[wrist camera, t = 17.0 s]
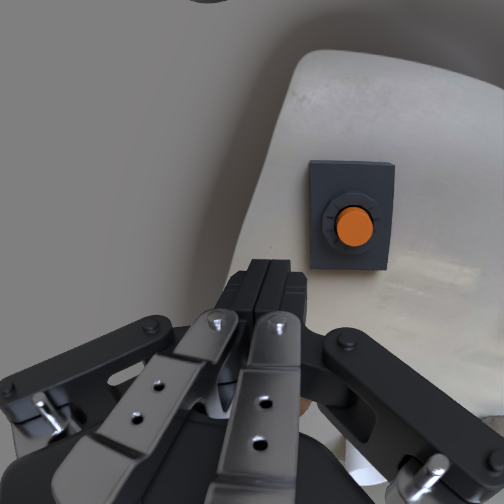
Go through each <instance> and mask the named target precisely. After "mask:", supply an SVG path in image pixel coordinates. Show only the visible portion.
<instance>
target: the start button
mask: <svg viewBox="0 0 504 504" xmlns="http://www.w3.org/2000/svg"><path fill="white" fill-rule="evenodd" d="M336 227H337V233H338V236H339V238H340V239H341V241H342V242H343V243H345V244H347V245H349V246H360V245H362V244H364V243H366V242H367V241H368V240H369V239H370V237H371V235H372V232H373V225H372V222H371V220H370V218H369V216H368V214H367V213H366V212H365V211H364V210H363V209H361V208H358V207H349V208H347V209H345V210H343V211H342V212H341V213H340V214H339V216H338V218H337V221H336Z"/></svg>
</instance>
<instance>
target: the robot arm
mask: <svg viewBox="0 0 504 504" xmlns="http://www.w3.org/2000/svg"><path fill="white" fill-rule="evenodd" d="M306 313H307V278H306V277H305V275H304V274H303V272H291V265H290V260H275V259H272V260H270V259H252V261H251V263H250V265H249V267H248V269H247V271H238V272H237V273H235V274H234V275H233V276H231V277H230V279H229V281H228V283H227V286H226V287H225V289H224V292H222V294H221V296H220V298H219V300H218V302H217V304H216V306H215V308H213V309H209V310H207V311H204V312H203V313H201V314H200V315H199V316H198V317H197V318H196V320H195V321H194V322H193V324H192V325H191V326H184V327H174V328H172V324H171V321H170V320H169V319H168V318H167V317H165V316H160V315H152V316H148V317H144V318H142V319H140V320H137V321H135V322H133V323H131V324H128V325H126V326H124V327H122V328H119V329H117V330H115V331H113V332H110V333H108V334H106V335H103V336H101V337H99V338H97V339H94V340H92V341H90V342H88V343H85V344H83V345H81V346H78V347H76V348H74V349H71V350H69V351H67V352H64V353H62V354H60V355H57V356H55V357H53V358H50V359H48V360H46V361H43V362H41V363H39V364H36V365H34V366H32V367H29V368H27V369H24V370H22V371H20V372H17V373H15V374H13V375H10V376H8V377H6V378H4V379H2V380H1V381H0V409H1V410H2V412H3V413H4V414H5V415H6V417H7V419H8V420H9V421H10V423H11V427H12V433H13V440H14V446H15V450H16V456H17V459H16V460H15V461H13V462H12V463H11V464H10V465H9V466H8V467H7V469H6V470H5V472H4V473H3V476H2V478H1V482H0V504H375V503H374V502H373V500H371V498H370V497H369V496H368V495H367V494H366V493H365V491H364V490H363V489H362V488H361V487H360V486H359V484H358V483H357V482H356V481H355V480H354V479H353V477H352V476H351V475H350V474H349V473H348V471H347V470H346V469H345V468H344V467H343V465H342V464H341V463H340V462H339V461H338V459H337V458H336V457H335V456H334V455H333V453H332V452H331V451H330V450H329V449H328V448H327V447H325V446H324V445H323V444H322V443H320V442H319V441H317V440H316V439H314V438H312V437H310V436H308V435H306V434H303V433H301V432H299V414H300V397H302V398H305V399H308V400H311V401H314V402H317V405H318V408H319V410H320V411H321V412H322V413H323V414H324V415H325V416H326V417H327V419H328V420H329V421H330V422H331V423H332V424H333V425H334V426H335V427H336V428H337V429H338V430H339V431H340V433H341V434H342V435H343V436H344V437H345V438H346V439H347V440H348V441H349V442H350V443H351V444H352V445H353V446H354V447H355V448H356V449H357V450H358V451H359V452H360V454H361V455H362V456H363V457H364V458H365V459H366V460H367V461H368V462H369V463H370V464H371V465H372V466H373V467H374V468H375V469H376V470H377V471H378V472H379V473H380V474H381V475H382V476H383V477H384V478H385V479H386V480H387V481H388V482H389V483H390V484H389V485H388V487H387V489H386V493H385V502H386V504H483V503H484V502H486V501H487V500H489V499H490V498H491V497H493V496H494V495H495V494H497V493H498V492H499V491H500V490H502V489H503V488H504V437H502V436H501V435H500V434H498V433H497V432H496V431H494V430H493V429H492V428H490V427H489V426H488V425H487V424H485V423H484V422H483V421H481V420H480V419H479V418H477V417H476V416H475V415H473V414H472V413H471V412H469V411H468V410H467V409H465V408H464V407H463V406H461V405H460V404H459V403H457V402H456V401H455V400H453V399H452V398H451V397H449V396H448V395H447V394H445V393H444V392H443V391H441V390H440V389H439V388H437V387H436V386H435V385H433V384H432V383H431V382H429V381H428V380H427V379H425V378H424V377H423V376H421V375H420V374H419V373H417V372H416V371H415V370H413V369H412V368H411V367H409V366H408V365H407V364H405V363H404V362H403V361H401V360H400V359H399V358H397V357H396V356H395V355H393V354H392V353H391V352H389V351H388V350H387V349H385V348H384V347H383V346H381V345H380V344H379V343H377V342H376V341H375V340H373V339H372V338H371V337H369V336H368V335H367V334H365V333H364V332H362V331H360V330H358V329H355V328H348V327H343V328H337V329H334V330H332V331H330V332H329V333H327V334H326V336H323V335H320V334H316V333H314V332H312V331H311V330H309V329H308V328H307V327H306V326H305V323H306ZM141 361H142V362H143V364H144V367H145V368H144V369H143V370H142V372H141V373H140V374H139V375H137V376H135V377H133V378H131V379H129V380H127V381H125V382H123V383H121V384H119V385H116V386H111V385H109V384H108V383H107V381H108V379H109V377H110V376H112V375H113V374H115V373H117V372H119V371H121V370H124V369H126V368H128V367H130V366H132V365H134V364H136V363H139V362H141Z"/></svg>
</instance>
